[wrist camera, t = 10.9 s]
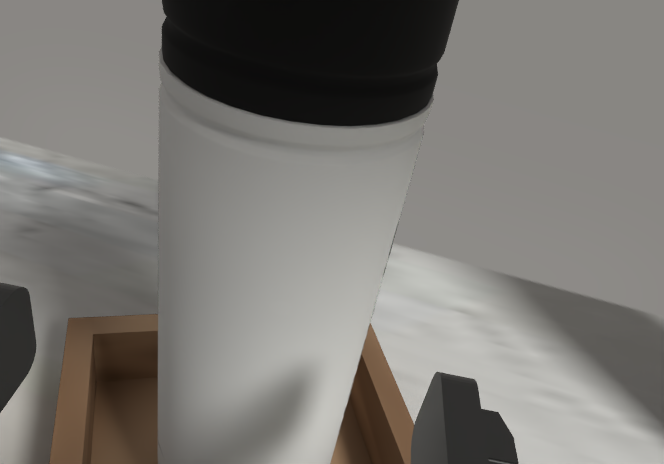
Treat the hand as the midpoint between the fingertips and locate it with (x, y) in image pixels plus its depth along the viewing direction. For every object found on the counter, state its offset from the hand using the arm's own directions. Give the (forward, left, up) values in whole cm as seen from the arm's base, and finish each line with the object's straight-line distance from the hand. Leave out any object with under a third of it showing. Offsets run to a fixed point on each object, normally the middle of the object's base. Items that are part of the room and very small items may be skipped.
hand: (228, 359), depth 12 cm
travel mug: (-2, -5, -13) cm, 14 cm away
